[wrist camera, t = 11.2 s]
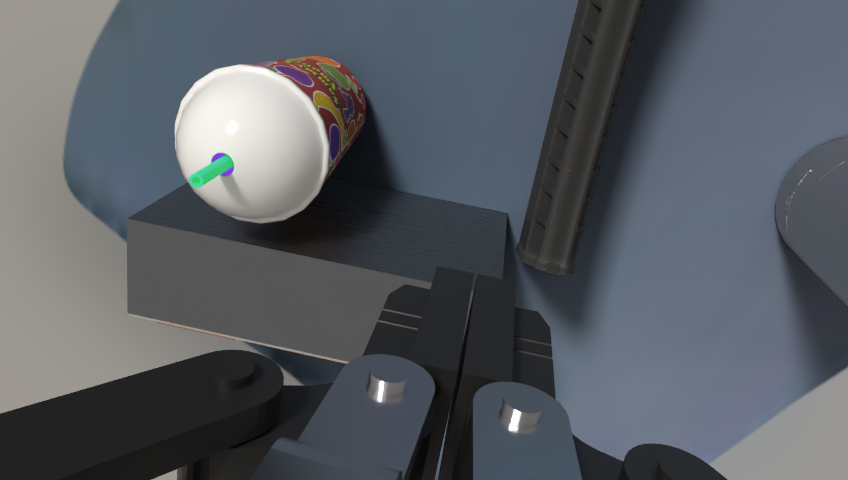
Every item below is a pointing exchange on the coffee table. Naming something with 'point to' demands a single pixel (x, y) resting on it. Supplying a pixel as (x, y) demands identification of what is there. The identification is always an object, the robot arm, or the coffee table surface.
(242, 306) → the dark grey block
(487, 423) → the robot arm
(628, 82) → the coffee table surface
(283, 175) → the smoothie
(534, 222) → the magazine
